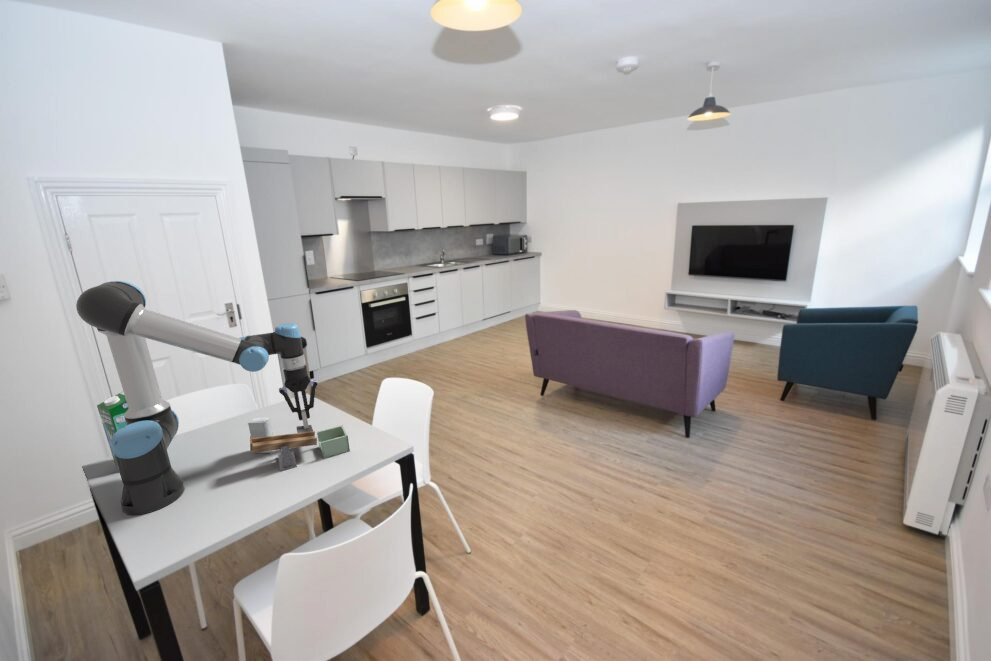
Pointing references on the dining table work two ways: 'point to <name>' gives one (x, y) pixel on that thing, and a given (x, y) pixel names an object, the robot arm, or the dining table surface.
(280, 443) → the lever
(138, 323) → the robot arm
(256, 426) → the skincare box
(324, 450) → the bin
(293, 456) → the fulcrum
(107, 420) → the milk carton
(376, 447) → the dining table surface
